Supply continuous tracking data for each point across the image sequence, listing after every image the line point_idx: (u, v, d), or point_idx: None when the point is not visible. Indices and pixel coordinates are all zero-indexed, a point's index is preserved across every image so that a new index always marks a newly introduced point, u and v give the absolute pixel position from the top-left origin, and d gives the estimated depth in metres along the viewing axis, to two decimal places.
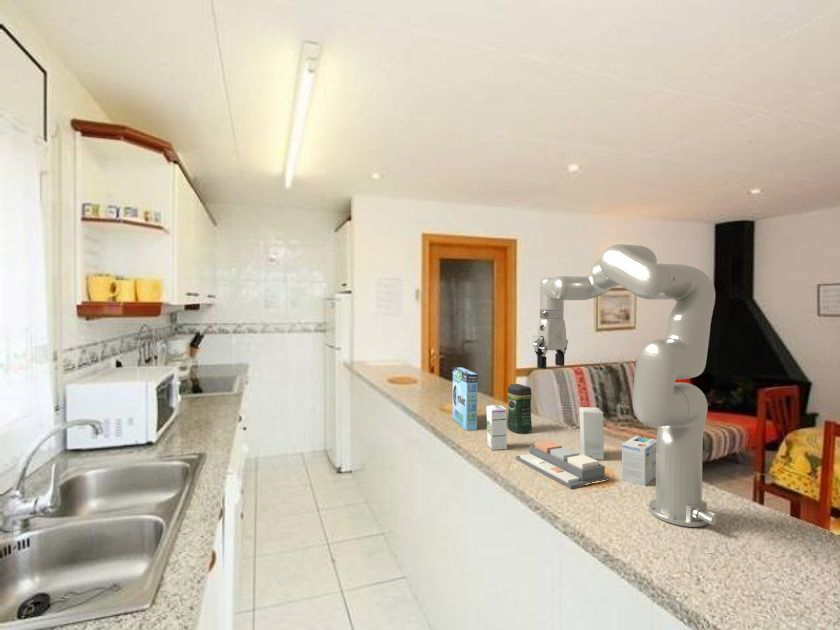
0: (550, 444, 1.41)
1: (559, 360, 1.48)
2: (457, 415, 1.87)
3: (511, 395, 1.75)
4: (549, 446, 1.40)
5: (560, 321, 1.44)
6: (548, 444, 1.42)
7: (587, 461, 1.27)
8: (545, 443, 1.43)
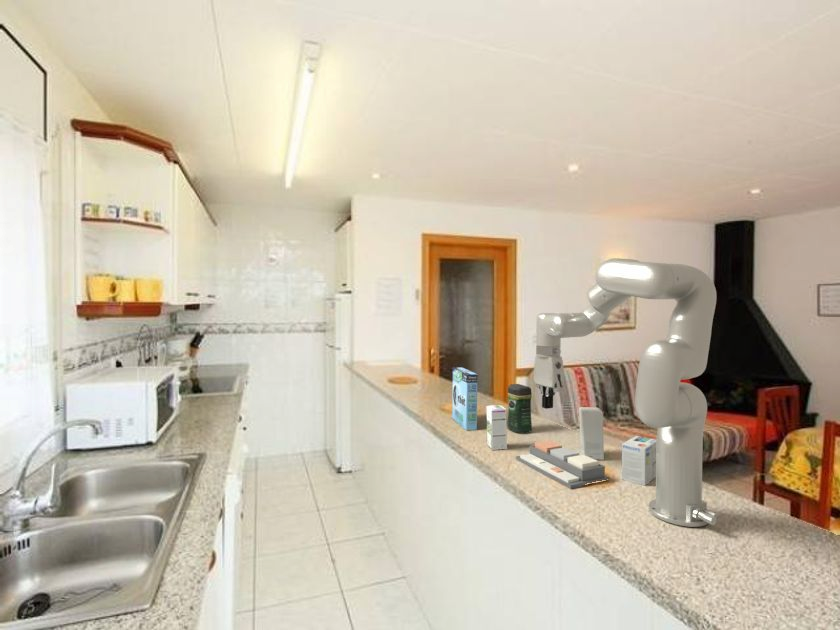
0: (550, 444, 1.41)
1: None
2: (457, 415, 1.87)
3: (511, 395, 1.75)
4: (549, 446, 1.40)
5: None
6: (548, 444, 1.42)
7: (587, 461, 1.27)
8: (545, 443, 1.43)
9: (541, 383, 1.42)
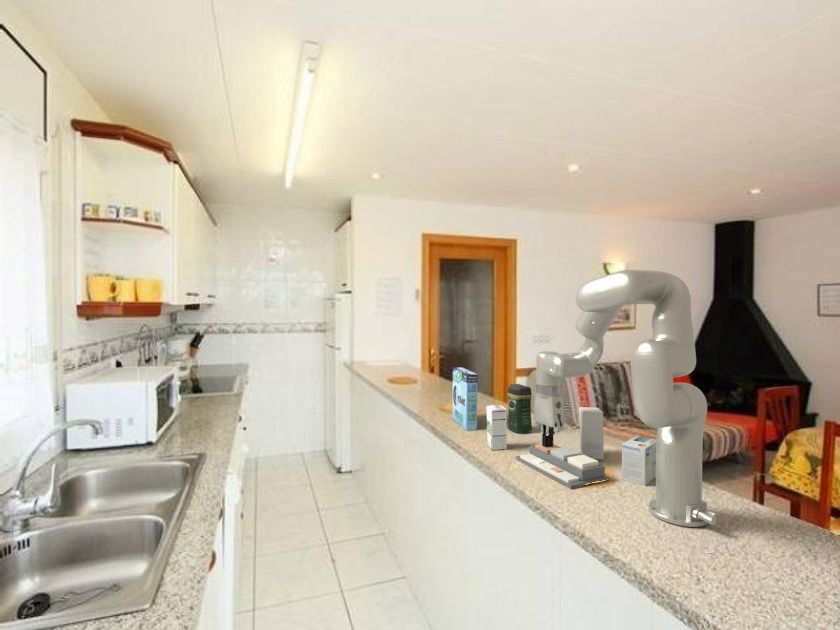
0: (550, 447, 1.41)
1: None
2: (457, 415, 1.87)
3: (511, 395, 1.75)
4: (549, 448, 1.40)
5: None
6: None
7: (587, 461, 1.27)
8: None
9: (541, 422, 1.42)
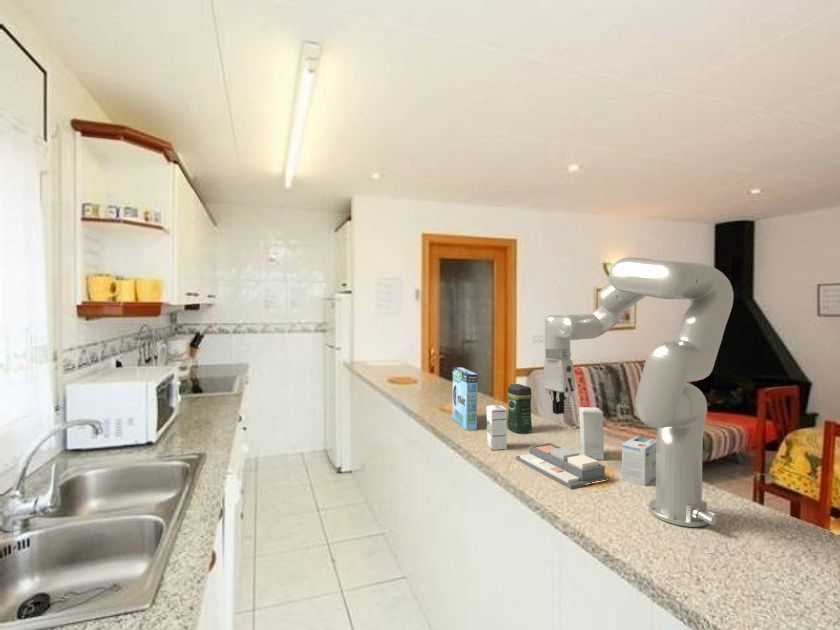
0: (550, 449, 1.41)
1: None
2: (457, 415, 1.87)
3: (511, 395, 1.75)
4: (549, 451, 1.40)
5: None
6: (548, 448, 1.42)
7: (587, 461, 1.27)
8: (545, 448, 1.43)
9: (551, 388, 1.37)
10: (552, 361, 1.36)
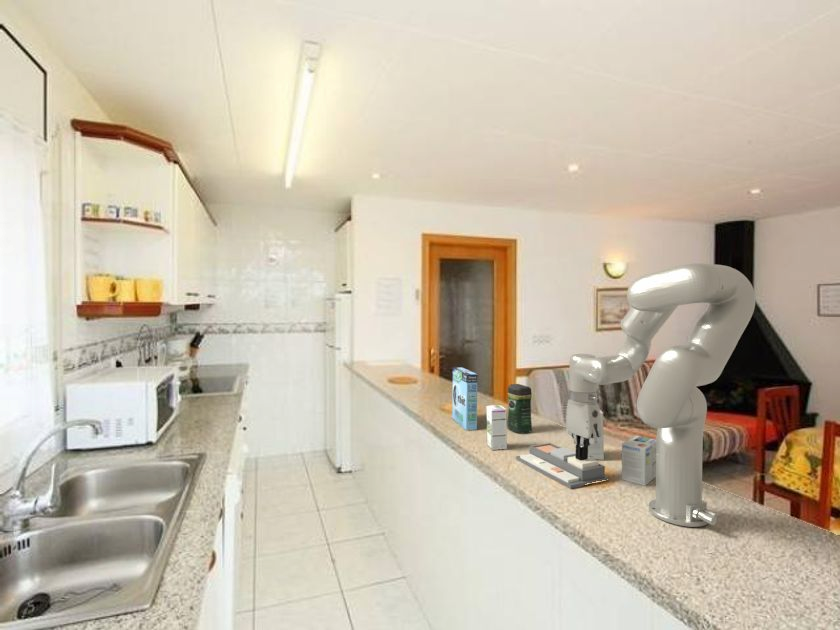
0: (550, 449, 1.41)
1: None
2: (457, 415, 1.87)
3: (511, 395, 1.75)
4: (549, 451, 1.40)
5: None
6: (548, 448, 1.42)
7: (587, 461, 1.27)
8: (545, 448, 1.43)
9: (575, 432, 1.28)
10: (577, 404, 1.27)
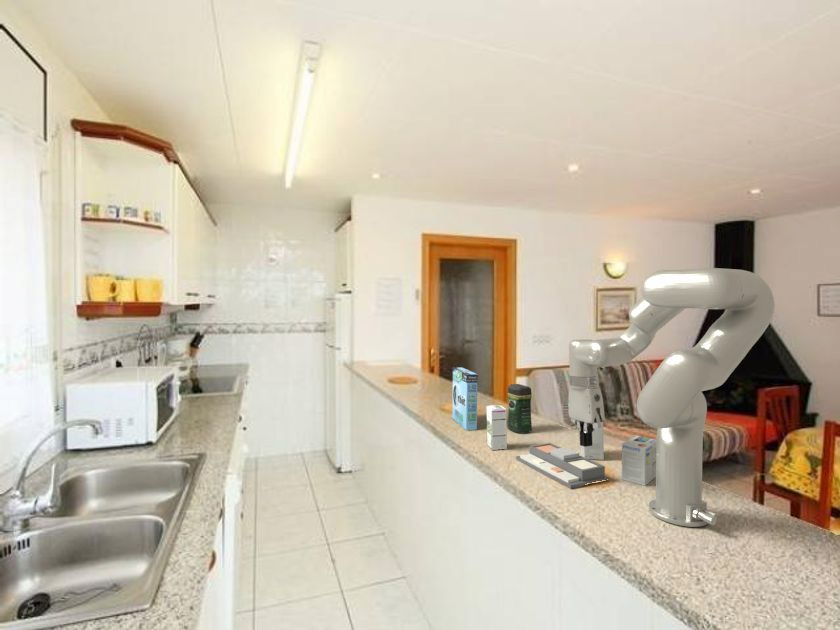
0: (550, 449, 1.41)
1: None
2: (457, 415, 1.87)
3: (511, 395, 1.75)
4: (549, 451, 1.40)
5: None
6: (548, 448, 1.42)
7: (587, 466, 1.27)
8: (545, 448, 1.43)
9: (578, 418, 1.27)
10: (578, 389, 1.26)
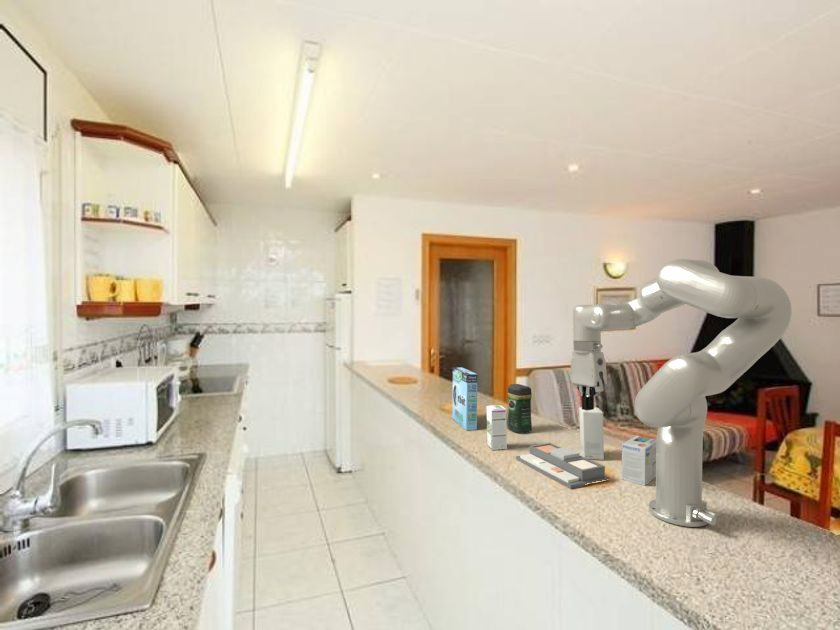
0: (550, 449, 1.41)
1: None
2: (457, 415, 1.87)
3: (511, 395, 1.75)
4: (549, 451, 1.40)
5: None
6: (548, 448, 1.42)
7: (587, 466, 1.27)
8: (545, 448, 1.43)
9: (580, 382, 1.28)
10: (582, 354, 1.27)
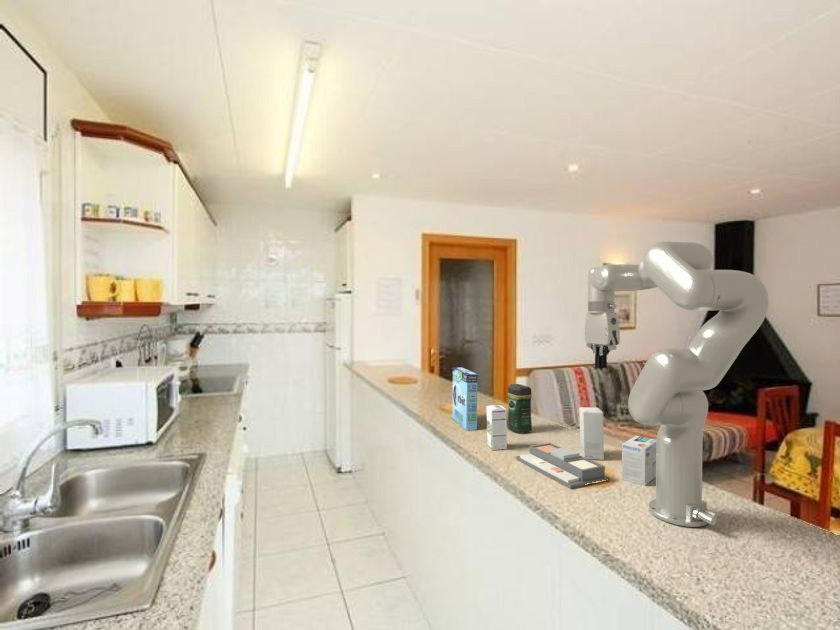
0: (550, 449, 1.41)
1: None
2: (457, 415, 1.87)
3: (511, 395, 1.75)
4: (549, 451, 1.40)
5: None
6: (548, 448, 1.42)
7: (587, 466, 1.27)
8: (545, 448, 1.43)
9: (594, 342, 1.34)
10: (596, 314, 1.33)
